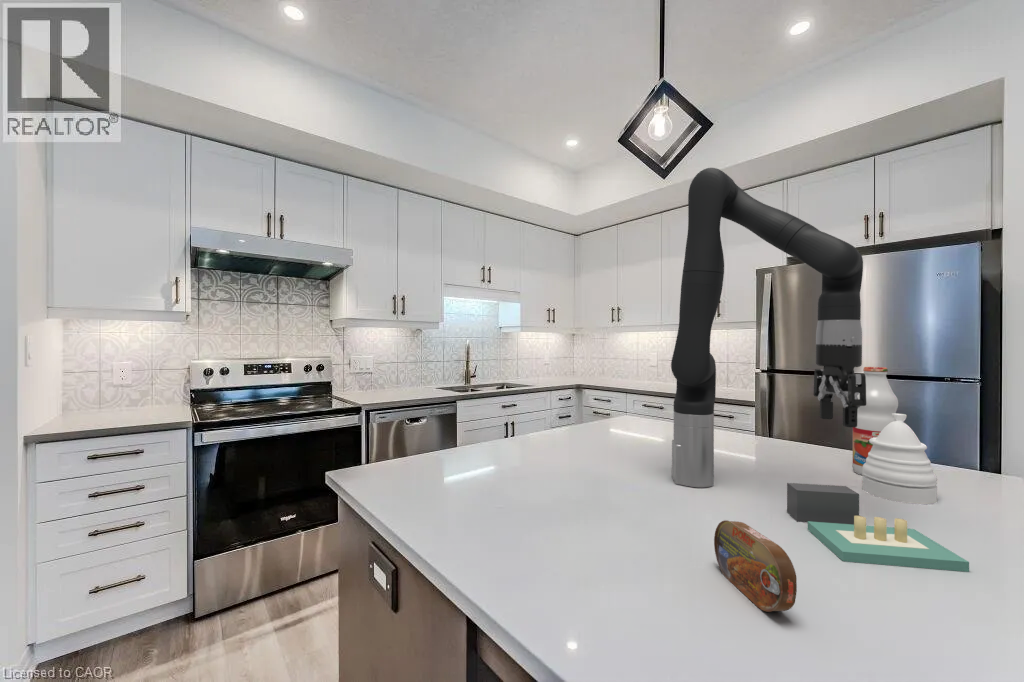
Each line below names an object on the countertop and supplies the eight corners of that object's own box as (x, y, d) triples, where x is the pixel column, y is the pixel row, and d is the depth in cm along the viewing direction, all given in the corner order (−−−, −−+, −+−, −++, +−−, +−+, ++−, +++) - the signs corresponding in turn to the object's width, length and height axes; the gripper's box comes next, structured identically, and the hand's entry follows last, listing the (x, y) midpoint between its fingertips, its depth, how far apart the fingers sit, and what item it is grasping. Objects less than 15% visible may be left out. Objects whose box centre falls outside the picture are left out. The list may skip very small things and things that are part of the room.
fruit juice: (898, 473, 117) (898, 367, 117) (900, 482, 109) (900, 368, 109) (852, 467, 123) (853, 365, 123) (851, 475, 115) (852, 367, 115)
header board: (842, 561, 70) (842, 529, 70) (807, 529, 82) (807, 502, 82) (969, 571, 67) (969, 538, 67) (913, 537, 79) (913, 509, 79)
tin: (712, 565, 69) (712, 511, 69) (731, 564, 69) (731, 510, 69) (778, 627, 54) (778, 558, 54) (802, 626, 54) (802, 557, 54)
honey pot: (866, 481, 110) (866, 409, 110) (938, 494, 101) (938, 415, 101) (857, 494, 101) (858, 415, 101) (935, 509, 92) (936, 422, 92)
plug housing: (797, 521, 86) (797, 490, 86) (787, 512, 90) (787, 482, 90) (859, 525, 84) (859, 493, 84) (845, 516, 88) (845, 486, 88)
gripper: (801, 342, 98) (800, 416, 98) (837, 343, 84) (836, 429, 84) (839, 342, 96) (838, 417, 96) (882, 343, 82) (881, 430, 82)
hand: (837, 422), depth 90 cm, fingers open, 8 cm apart
